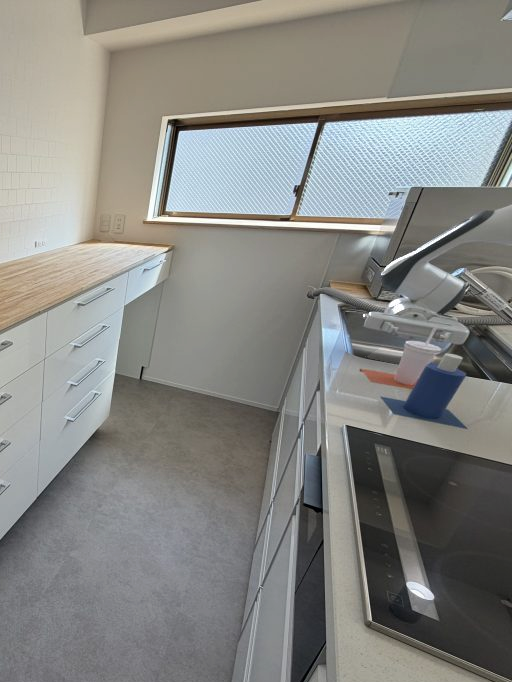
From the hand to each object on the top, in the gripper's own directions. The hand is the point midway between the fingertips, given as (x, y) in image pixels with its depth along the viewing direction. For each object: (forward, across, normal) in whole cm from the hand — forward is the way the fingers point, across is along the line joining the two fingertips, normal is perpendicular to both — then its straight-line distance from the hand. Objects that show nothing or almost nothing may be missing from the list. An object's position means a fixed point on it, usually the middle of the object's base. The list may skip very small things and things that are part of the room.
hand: (417, 334), depth 104 cm
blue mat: (+27, +1, +10) cm, 29 cm away
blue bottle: (+27, +1, +10) cm, 29 cm away
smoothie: (+9, 0, +10) cm, 14 cm away
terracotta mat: (+9, -1, +10) cm, 14 cm away
